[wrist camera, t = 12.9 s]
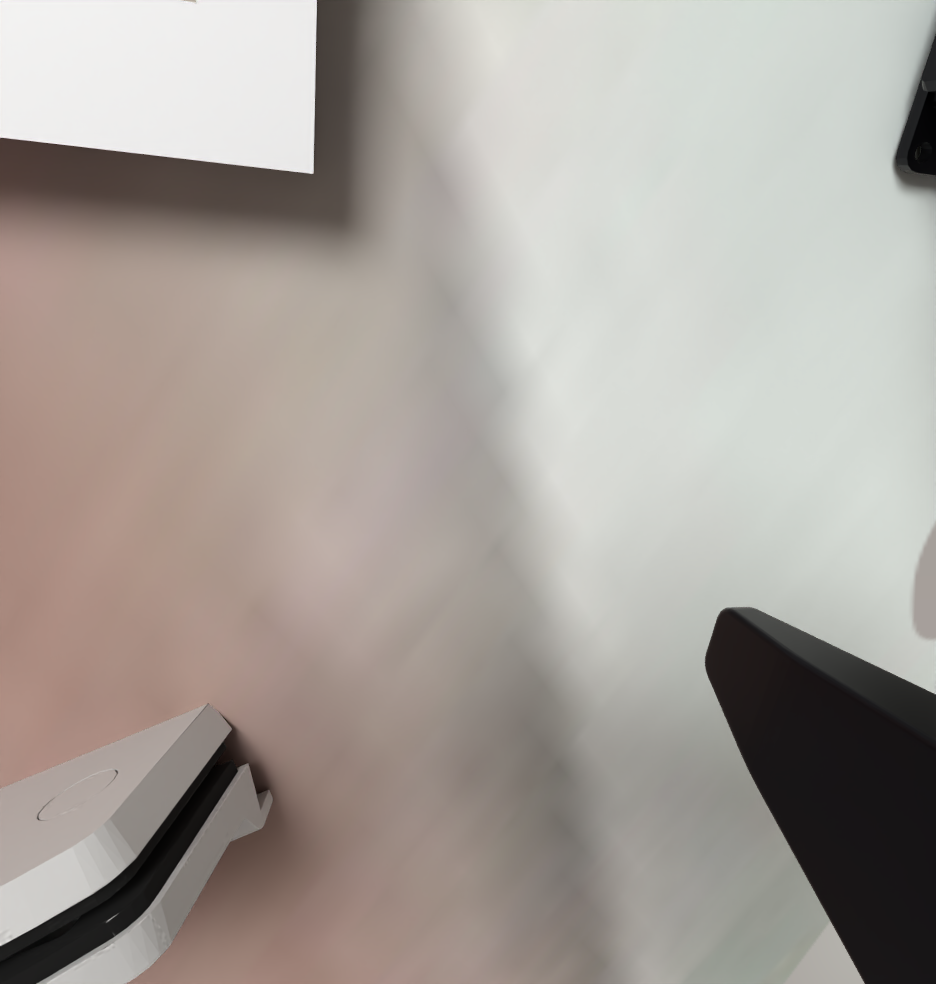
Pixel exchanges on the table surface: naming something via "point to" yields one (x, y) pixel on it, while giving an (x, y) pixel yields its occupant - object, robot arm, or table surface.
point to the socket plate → (163, 78)
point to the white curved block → (117, 850)
